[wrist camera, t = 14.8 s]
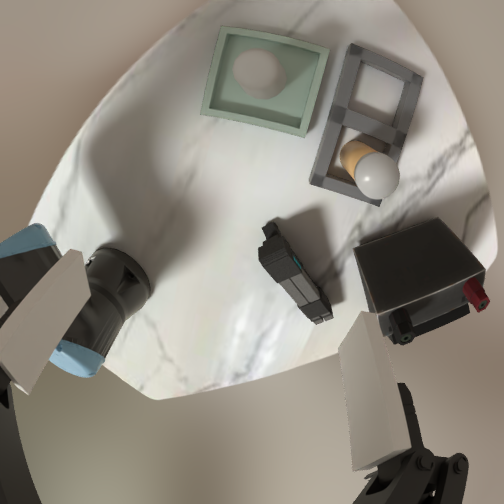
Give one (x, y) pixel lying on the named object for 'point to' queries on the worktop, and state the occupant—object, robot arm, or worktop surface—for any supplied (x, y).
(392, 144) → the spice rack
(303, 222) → the worktop surface
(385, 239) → the voltmeter
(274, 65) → the salt shaker
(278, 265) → the gun
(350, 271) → the worktop surface
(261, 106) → the tray
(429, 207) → the worktop surface
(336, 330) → the worktop surface
